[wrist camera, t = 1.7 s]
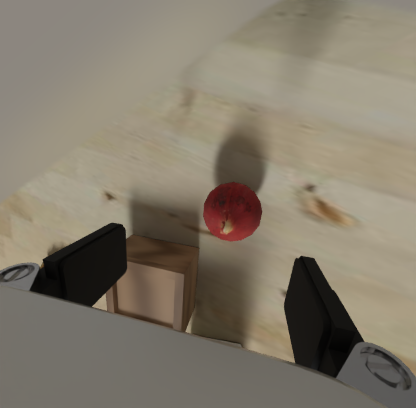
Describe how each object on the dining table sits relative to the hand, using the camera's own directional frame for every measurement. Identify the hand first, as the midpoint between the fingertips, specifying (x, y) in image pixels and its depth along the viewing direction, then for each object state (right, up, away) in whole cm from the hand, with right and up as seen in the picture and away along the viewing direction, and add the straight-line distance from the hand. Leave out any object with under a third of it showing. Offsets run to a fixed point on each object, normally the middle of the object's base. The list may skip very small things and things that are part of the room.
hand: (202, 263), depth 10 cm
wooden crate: (-6, -7, +18) cm, 20 cm away
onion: (+4, +3, +13) cm, 14 cm away
